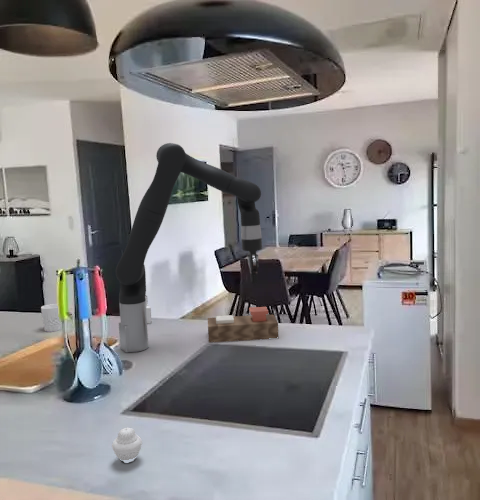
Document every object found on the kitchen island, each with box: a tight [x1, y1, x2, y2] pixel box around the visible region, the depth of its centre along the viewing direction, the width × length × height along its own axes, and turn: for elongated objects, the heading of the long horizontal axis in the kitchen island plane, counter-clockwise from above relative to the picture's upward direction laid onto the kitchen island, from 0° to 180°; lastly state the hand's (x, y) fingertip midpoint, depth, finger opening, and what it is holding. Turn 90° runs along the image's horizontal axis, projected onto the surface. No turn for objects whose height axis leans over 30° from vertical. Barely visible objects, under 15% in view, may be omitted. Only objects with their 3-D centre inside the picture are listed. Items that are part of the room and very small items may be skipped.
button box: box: [207, 314, 279, 343], centre depth 182 cm, size 26×12×6 cm, turn 94°
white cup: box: [40, 303, 62, 333], centre depth 198 cm, size 8×8×10 cm
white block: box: [215, 314, 234, 324], centre depth 182 cm, size 7×7×6 cm
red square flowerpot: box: [248, 306, 269, 322], centre depth 182 cm, size 7×7×6 cm
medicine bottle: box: [146, 295, 153, 325], centre depth 204 cm, size 7×7×12 cm
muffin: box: [111, 427, 143, 460], centre depth 101 cm, size 6×6×7 cm
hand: (254, 282), depth 180 cm, fingers closed
